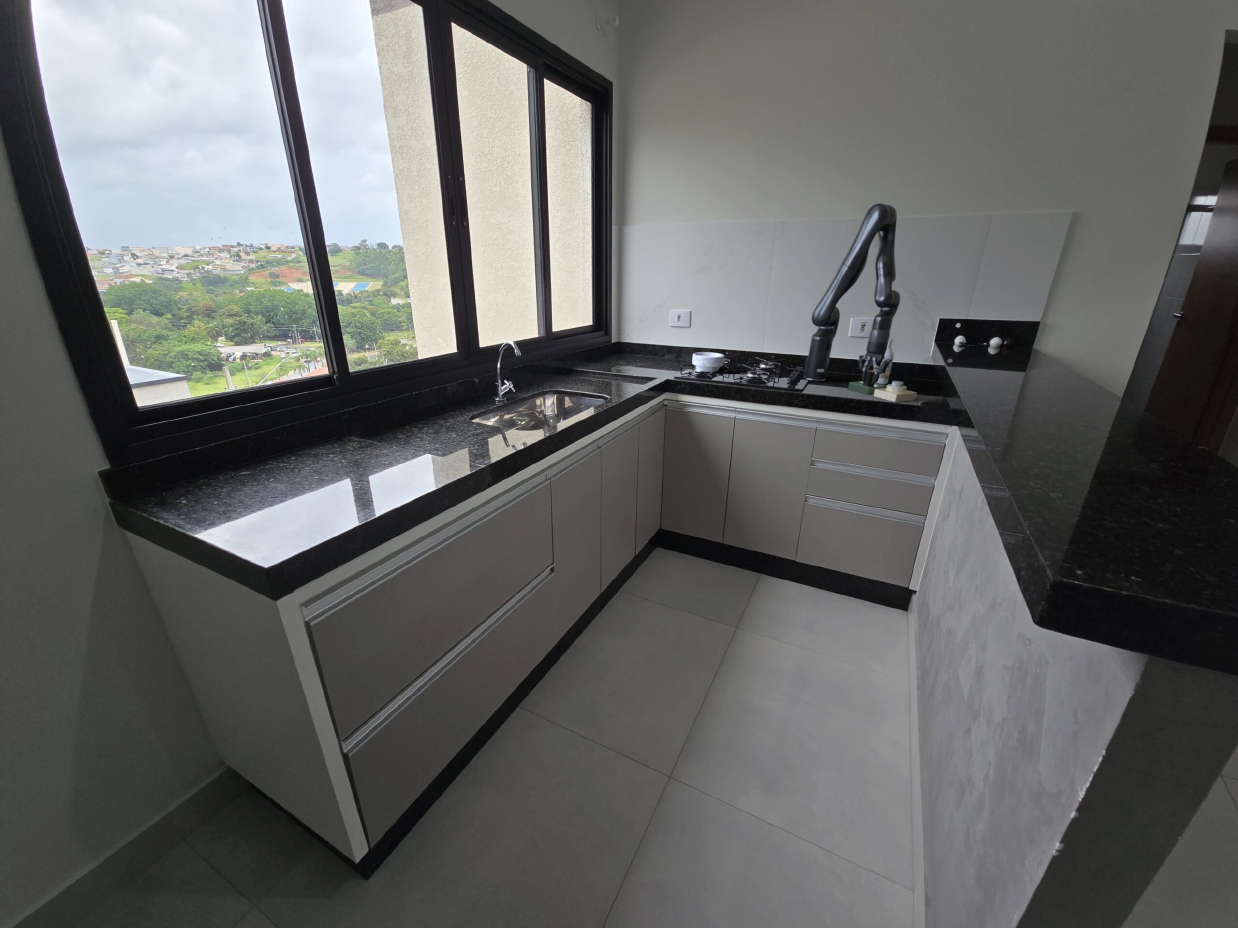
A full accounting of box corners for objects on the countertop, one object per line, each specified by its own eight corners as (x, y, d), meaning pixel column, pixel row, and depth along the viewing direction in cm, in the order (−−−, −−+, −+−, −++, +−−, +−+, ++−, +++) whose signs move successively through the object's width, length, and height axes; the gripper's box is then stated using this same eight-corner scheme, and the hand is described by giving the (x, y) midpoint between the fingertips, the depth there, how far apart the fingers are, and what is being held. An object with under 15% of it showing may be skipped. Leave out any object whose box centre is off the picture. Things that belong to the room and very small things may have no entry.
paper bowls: (725, 373, 239) (727, 356, 236) (693, 373, 239) (694, 356, 237) (720, 368, 253) (721, 352, 251) (690, 367, 254) (691, 351, 251)
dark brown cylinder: (860, 383, 216) (863, 369, 214) (868, 382, 218) (871, 369, 216) (869, 385, 213) (872, 371, 211) (876, 384, 214) (879, 371, 212)
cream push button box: (873, 396, 207) (876, 384, 206) (893, 394, 212) (896, 382, 210) (895, 402, 199) (898, 389, 197) (915, 399, 204) (918, 387, 202)
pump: (889, 386, 205) (890, 381, 204) (895, 385, 206) (896, 380, 206) (897, 388, 201) (899, 383, 201) (904, 387, 203) (905, 382, 202)
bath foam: (882, 385, 230) (892, 340, 223) (867, 382, 235) (877, 338, 228) (890, 383, 233) (900, 339, 226) (876, 380, 239) (886, 337, 232)
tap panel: (847, 389, 218) (849, 382, 217) (867, 387, 223) (868, 380, 222) (867, 394, 210) (868, 387, 209) (887, 392, 215) (888, 385, 214)
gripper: (899, 343, 204) (890, 384, 211) (870, 338, 216) (861, 377, 223) (887, 343, 201) (877, 385, 208) (857, 338, 213) (849, 378, 219)
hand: (869, 381), depth 215 cm, fingers closed on dark brown cylinder, 4 cm apart
